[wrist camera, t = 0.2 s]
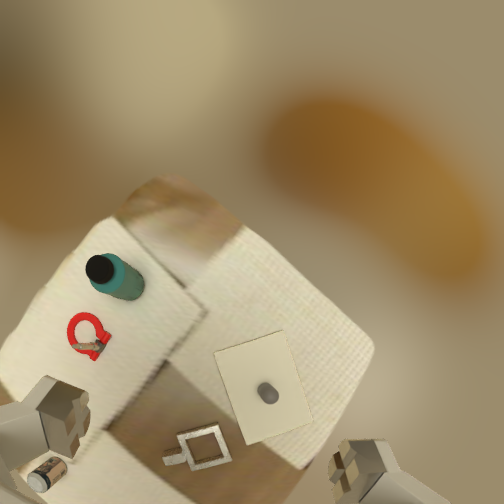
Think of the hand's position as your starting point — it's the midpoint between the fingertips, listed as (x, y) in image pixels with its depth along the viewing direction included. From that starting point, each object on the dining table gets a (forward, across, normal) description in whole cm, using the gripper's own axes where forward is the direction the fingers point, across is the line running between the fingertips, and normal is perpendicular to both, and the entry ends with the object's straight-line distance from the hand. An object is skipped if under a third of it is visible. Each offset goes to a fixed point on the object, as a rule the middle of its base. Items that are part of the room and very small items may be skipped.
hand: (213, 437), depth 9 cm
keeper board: (+44, +11, -31) cm, 55 cm away
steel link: (+37, +1, -45) cm, 58 cm away
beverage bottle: (+51, -18, -19) cm, 58 cm away
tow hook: (+46, -25, -29) cm, 60 cm away
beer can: (+30, -29, -58) cm, 72 cm away
